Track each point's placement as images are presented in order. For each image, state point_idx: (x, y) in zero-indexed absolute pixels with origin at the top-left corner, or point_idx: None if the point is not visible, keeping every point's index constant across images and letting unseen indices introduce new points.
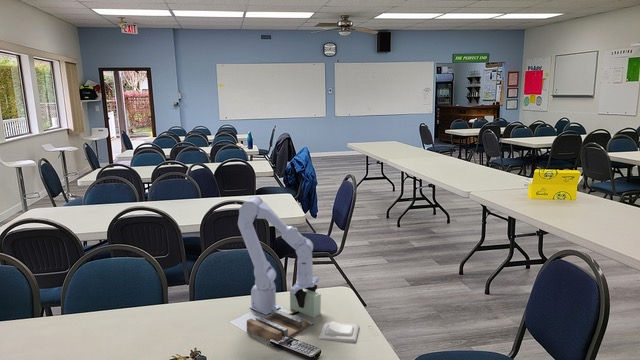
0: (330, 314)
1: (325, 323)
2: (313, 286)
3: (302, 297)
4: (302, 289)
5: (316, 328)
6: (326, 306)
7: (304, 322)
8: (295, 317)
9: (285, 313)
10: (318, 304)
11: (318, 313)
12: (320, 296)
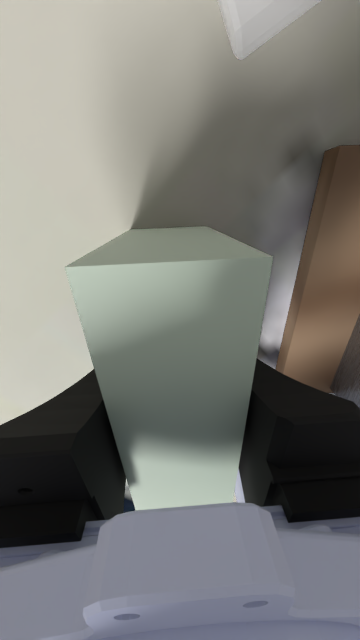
0: (77, 151)
1: (247, 31)
2: (166, 513)
3: (302, 384)
4: (292, 501)
5: (347, 62)
6: (24, 272)
7: (349, 197)
8: (307, 298)
9: (289, 366)
10: (147, 238)
11: (154, 228)
12: (86, 256)
